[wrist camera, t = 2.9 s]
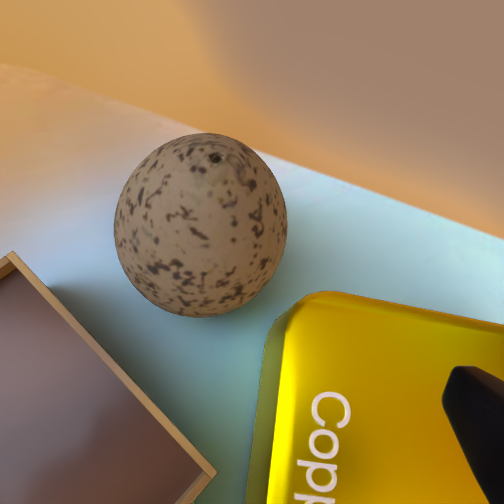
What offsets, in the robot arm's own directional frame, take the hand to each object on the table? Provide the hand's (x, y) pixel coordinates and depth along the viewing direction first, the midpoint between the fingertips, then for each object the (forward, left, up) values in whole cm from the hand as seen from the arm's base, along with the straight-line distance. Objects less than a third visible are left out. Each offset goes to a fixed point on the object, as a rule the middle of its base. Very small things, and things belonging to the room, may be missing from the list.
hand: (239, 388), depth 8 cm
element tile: (-10, -4, -13) cm, 17 cm away
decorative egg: (+5, -5, -13) cm, 15 cm away
